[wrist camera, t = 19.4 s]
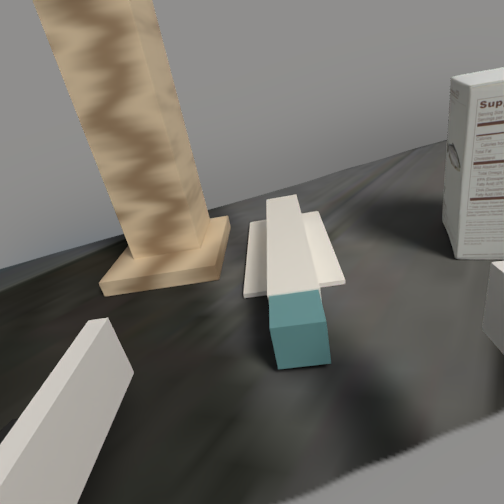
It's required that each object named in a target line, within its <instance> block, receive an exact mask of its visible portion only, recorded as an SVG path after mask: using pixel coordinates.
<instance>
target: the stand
mask: <svg viewBox="0 0 504 504" xmlns="http://www.w3.org/2000/svg"><path fill="white" fill-rule="evenodd" d="M33 3H34V5H35V8H36V10H37V13H38V15H39V18H40V20H41V23H42V26H43V28H44V30H45V33H46V36H47V38H48V41H49V44H50V46H51V49H52V51H53V54H54V56H55V59H56V61H57V64H58V66H59V69H60V72H61V74H62V77H63V79H64V81H65V84H66V87H67V89H68V92H69V94H70V97H71V100H72V102H73V105H74V107H75V110H76V112H77V115H78V118H79V120H80V122H81V125H82V128H83V130H84V133H85V136H86V138H87V140H88V143H89V146H90V148H91V151H92V153H93V156H94V158H95V161H96V164H97V166H98V169H99V171H100V174H101V176H102V179H103V181H104V184H105V187H106V189H107V192H108V194H109V197H110V199H111V202H112V204H113V207H114V209H115V212H116V215H117V217H118V220H119V222H120V225H121V227H122V230H123V233H124V235H125V238H126V240H127V243H128V247H127V248H126V249H125V251H124V252H123V253H122V254H121V256H120V257H119V258H118V259H117V261H116V262H115V263H114V264H113V266H112V267H111V268H110V269H109V271H108V272H107V273H106V275H105V276H104V277H103V278H102V280H101V281H100V282H99V285H100V287H101V289H102V292H103V294H104V296H112V295H119V294H126V293H132V292H139V291H146V290H153V289H159V288H166V287H173V286H180V285H186V284H193V283H200V282H207V281H213V280H219V278H220V273H221V269H222V264H223V259H224V255H225V250H226V246H227V241H228V237H229V232H230V228H231V227H230V223H229V218H228V216H223V217H217V218H211V219H210V218H209V214H208V211H207V207H206V203H205V199H204V195H203V192H202V188H201V184H200V180H199V176H198V173H197V169H196V165H195V161H194V157H193V154H192V150H191V146H190V142H189V139H188V135H187V131H186V128H185V124H184V119H183V116H182V112H181V108H180V104H179V100H178V97H177V93H176V89H175V85H174V81H173V78H172V74H171V70H170V66H169V63H168V59H167V55H166V51H165V47H164V44H163V40H162V36H161V32H160V28H159V25H158V21H157V17H156V13H155V10H154V6H153V2H152V0H33Z"/></svg>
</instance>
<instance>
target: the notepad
mask: <svg viewBox="0 0 504 504" xmlns="http://www.w3.org/2000/svg"><path fill="white" fill-rule="evenodd" d="M301 215H302V219H303V223H304V227H305V231H306V235H307V239H308V243H309V247H310V250H311V254H312V258H313V262H314V266H315V270H316V274H317V278H318V282H319V286H320V288H321V287H328V286H335V285H342V284H345V278H344V276H343V273H342V271H341V268H340V266H339V263H338V260H337V258H336V255H335V253H334V250H333V248H332V245H331V243H330V240H329V238H328V235H327V232H326V230H325V227H324V225H323V222H322V220H321V217H320V215H319V212H318V211H316V212H309V213H303V214H301ZM243 295H244V298H250V297H257V296H264V295H267V220H261V221H255V222H250V229H249V239H248V250H247V260H246V271H245V281H244V292H243Z"/></svg>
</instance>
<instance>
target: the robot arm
mask: <svg viewBox="0 0 504 504" xmlns="http://www.w3.org/2000/svg"><path fill="white" fill-rule="evenodd" d="M482 330H483V331H484V332H485V333H486V335H487V336H488V337H489V338H490V339H491V340H492V342H493V343H494V344H495V345H496V346H497V347H498V349H499V350H500V351H501V352H502V353H503V354H504V261H498V262H491V267H490V274H489V282H488V289H487V297H486V304H485V312H484V319H483V327H482ZM133 374H134V371H133V369H132V367H131V365H130V363H129V361H128V359H127V357H126V355H125V352H124V350H123V348H122V346H121V344H120V342H119V340H118V338H117V335H116V333H115V331H114V329H113V327H112V325H111V323H110V321H109V319H108V318H103V319H96V320H89V321H88V322H87V323H86V325H85V326H84V328H83V329H82V330H81V332H80V333H79V335H78V336H77V337H76V339H75V340H74V342H73V343H72V344H71V346H70V347H69V349H68V350H67V351H66V353H65V354H64V356H63V357H62V358H61V360H60V361H59V363H58V364H57V365H56V367H55V368H54V370H53V371H52V372H51V374H50V375H49V377H48V378H47V380H46V381H45V382H44V384H43V385H42V387H41V388H40V389H39V391H38V392H37V394H36V395H35V396H34V398H33V399H32V401H31V402H30V403H29V405H28V406H27V408H26V409H25V410H24V412H23V413H22V415H21V416H20V417H19V419H12V420H11V421H10V422H9V423H8V424H7V425H6V426H5V427H4V428H3V429H2V430H1V431H0V504H77V502H78V500H79V498H80V496H81V493H82V491H83V489H84V486H85V484H86V482H87V479H88V477H89V475H90V473H91V470H92V468H93V466H94V463H95V461H96V459H97V456H98V454H99V452H100V450H101V447H102V445H103V443H104V440H105V438H106V436H107V434H108V431H109V429H110V427H111V424H112V422H113V420H114V417H115V415H116V413H117V411H118V408H119V406H120V404H121V401H122V399H123V397H124V394H125V392H126V390H127V388H128V385H129V383H130V381H131V378H132V376H133Z"/></svg>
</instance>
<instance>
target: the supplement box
mask: <svg viewBox="0 0 504 504" xmlns="http://www.w3.org/2000/svg"><path fill="white" fill-rule="evenodd" d="M442 222H443V224H444V226H445V228H446V230H447V233H448V235H449V238H450V242H451V245H452V248H453V252H454V256H455V258H456V259H471V260H481V259H487V260H491V259H501V260H502V259H504V67H503V68H497V69H492V70H486V71H480V72H475V73H469V74H463V75H458V76H454V77H451V88H450V103H449V120H448V136H447V150H446V165H445V181H444V197H443V214H442Z"/></svg>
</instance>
